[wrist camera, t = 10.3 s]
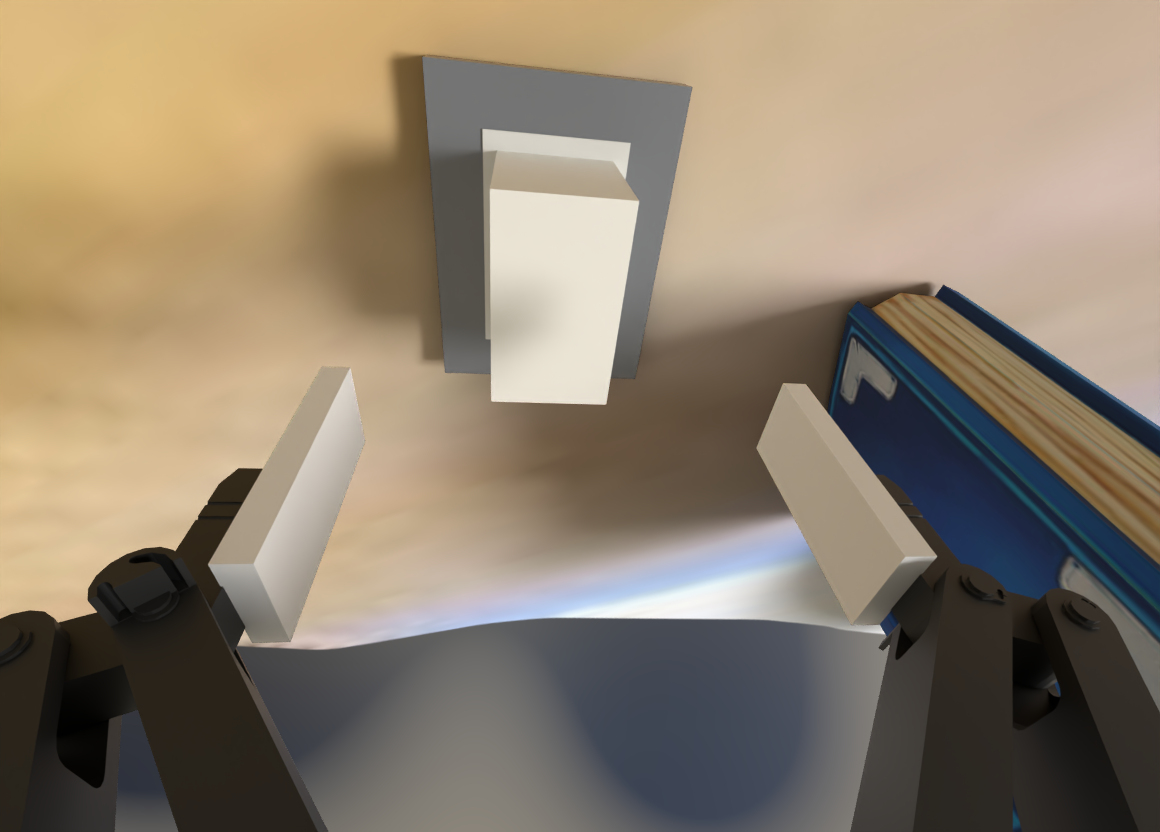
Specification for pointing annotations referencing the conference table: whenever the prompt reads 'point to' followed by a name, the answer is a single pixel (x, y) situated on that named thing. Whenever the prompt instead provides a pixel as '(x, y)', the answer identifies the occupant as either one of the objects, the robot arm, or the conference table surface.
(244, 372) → the conference table surface
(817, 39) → the conference table surface
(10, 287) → the conference table surface
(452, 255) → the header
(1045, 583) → the book
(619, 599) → the conference table surface
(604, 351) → the block
